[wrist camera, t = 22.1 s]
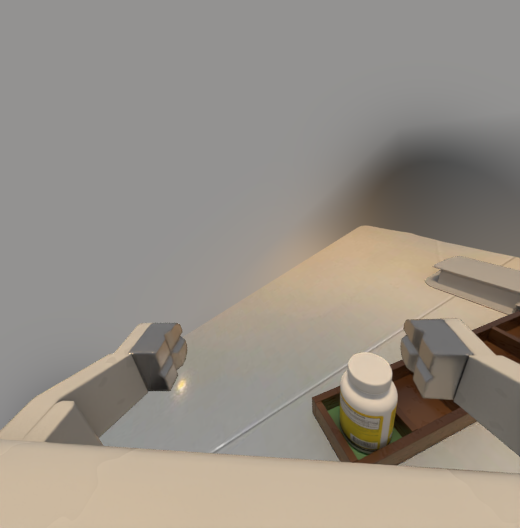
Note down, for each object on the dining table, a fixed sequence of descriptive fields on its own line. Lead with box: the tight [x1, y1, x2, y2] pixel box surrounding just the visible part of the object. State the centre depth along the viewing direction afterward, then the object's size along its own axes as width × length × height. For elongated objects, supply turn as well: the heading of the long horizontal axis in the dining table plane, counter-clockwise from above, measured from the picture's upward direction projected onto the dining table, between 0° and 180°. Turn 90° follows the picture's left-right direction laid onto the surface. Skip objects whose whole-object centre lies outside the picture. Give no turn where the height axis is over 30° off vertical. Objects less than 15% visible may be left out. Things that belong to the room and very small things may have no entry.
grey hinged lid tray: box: [425, 256, 520, 315], centre depth 47 cm, size 15×23×4 cm, turn 31°
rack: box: [312, 310, 520, 465], centre depth 31 cm, size 8×38×3 cm, turn 109°
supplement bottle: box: [340, 352, 398, 454], centre depth 26 cm, size 5×5×10 cm
